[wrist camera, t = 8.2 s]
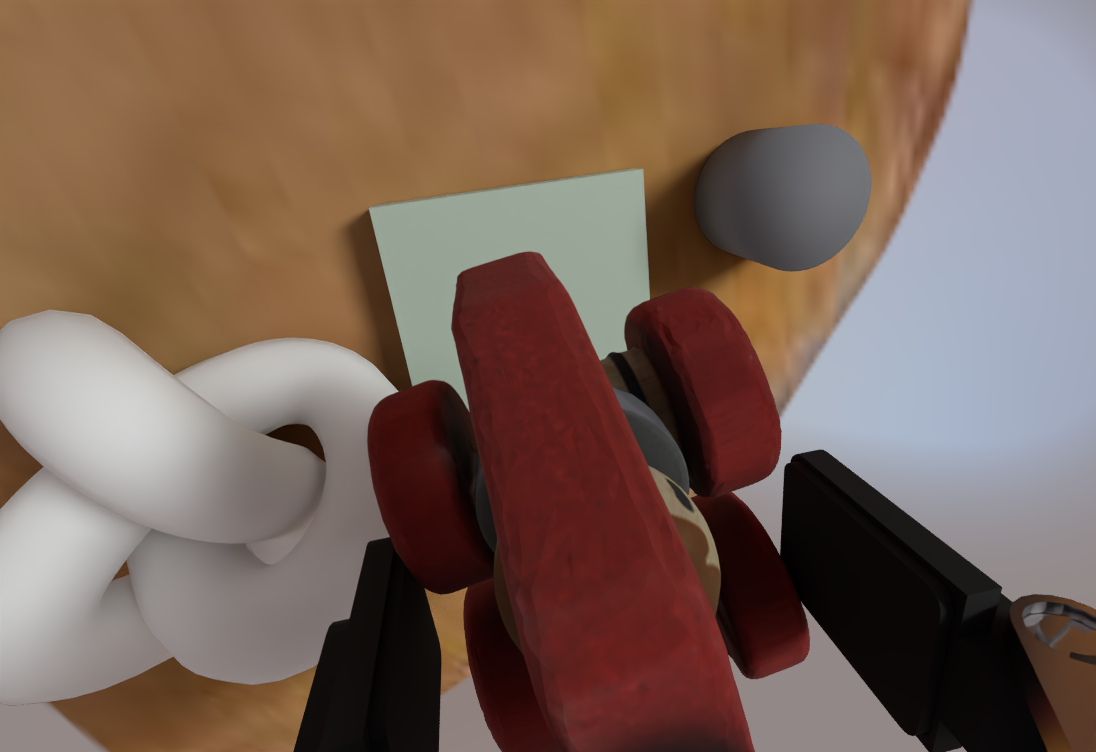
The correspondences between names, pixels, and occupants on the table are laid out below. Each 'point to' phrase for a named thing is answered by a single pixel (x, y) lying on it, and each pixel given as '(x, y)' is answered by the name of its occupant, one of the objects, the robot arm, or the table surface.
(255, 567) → the white knot
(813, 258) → the grey rounded pebble
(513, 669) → the red wheeled piece
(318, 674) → the robot arm
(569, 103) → the table surface
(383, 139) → the table surface
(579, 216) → the board
